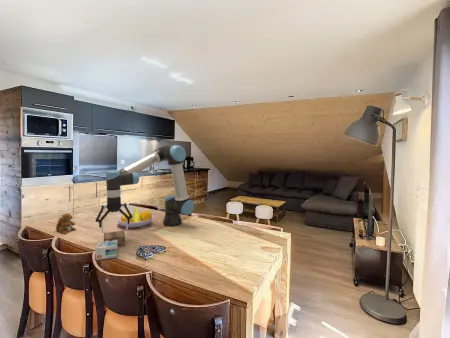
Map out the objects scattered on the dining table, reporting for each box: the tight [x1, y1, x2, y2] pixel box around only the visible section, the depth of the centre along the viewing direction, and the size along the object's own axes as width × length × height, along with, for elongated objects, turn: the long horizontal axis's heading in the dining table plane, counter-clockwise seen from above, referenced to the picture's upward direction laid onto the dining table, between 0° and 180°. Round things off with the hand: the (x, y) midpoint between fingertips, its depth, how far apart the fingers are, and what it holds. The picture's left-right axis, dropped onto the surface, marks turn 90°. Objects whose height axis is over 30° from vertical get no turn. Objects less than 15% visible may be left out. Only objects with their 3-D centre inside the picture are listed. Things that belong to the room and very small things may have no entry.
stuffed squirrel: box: [55, 212, 77, 235], centre depth 177 cm, size 10×14×13 cm
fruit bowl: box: [117, 206, 154, 229], centre depth 194 cm, size 28×27×11 cm
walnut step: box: [103, 230, 126, 248], centre depth 155 cm, size 12×12×6 cm
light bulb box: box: [95, 240, 119, 261], centre depth 138 cm, size 11×7×11 cm
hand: (114, 231), depth 147 cm, fingers open, 13 cm apart
